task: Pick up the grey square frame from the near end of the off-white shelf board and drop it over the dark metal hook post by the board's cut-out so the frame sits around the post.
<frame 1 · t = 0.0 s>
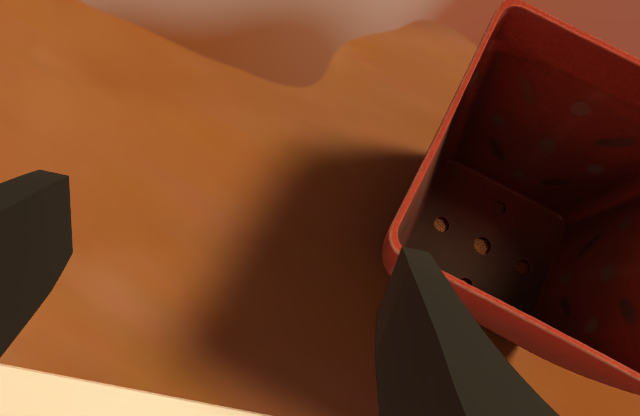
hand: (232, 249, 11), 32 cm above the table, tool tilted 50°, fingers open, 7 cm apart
plant pot: (480, 244, 47), on the table
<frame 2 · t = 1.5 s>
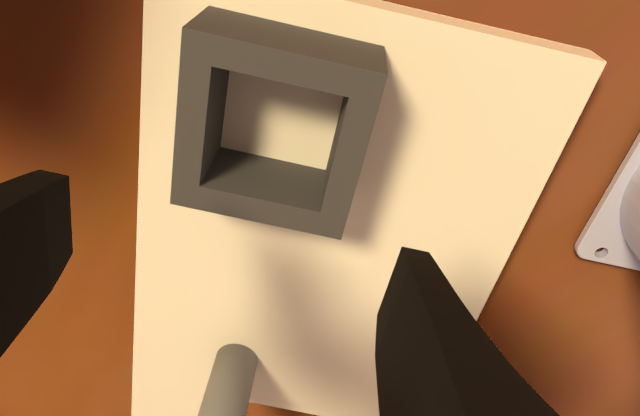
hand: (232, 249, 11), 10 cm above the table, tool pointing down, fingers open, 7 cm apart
grey square frame: (282, 108, 19), point 1 cm above the table, touching shelf board
shelf board: (310, 270, 24), on the table
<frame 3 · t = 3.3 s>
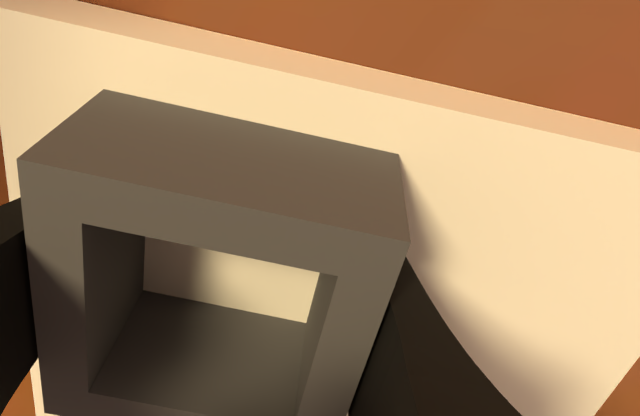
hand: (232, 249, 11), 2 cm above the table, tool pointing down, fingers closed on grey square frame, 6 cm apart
grey square frame: (235, 241, 12), point 1 cm above the table, touching gripper, shelf board
when the fingers open (3 cm above the table, at t = 7.8 s): grey square frame drops 1 cm, resting on shelf board.
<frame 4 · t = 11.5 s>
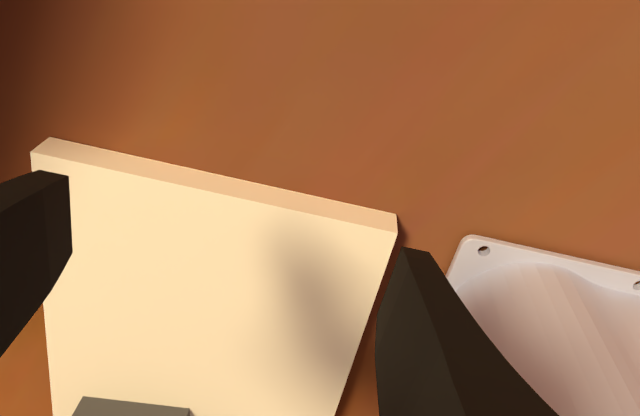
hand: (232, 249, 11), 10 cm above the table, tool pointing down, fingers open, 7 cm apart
shelf board: (200, 366, 29), on the table
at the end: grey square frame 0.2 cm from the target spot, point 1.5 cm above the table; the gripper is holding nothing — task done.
